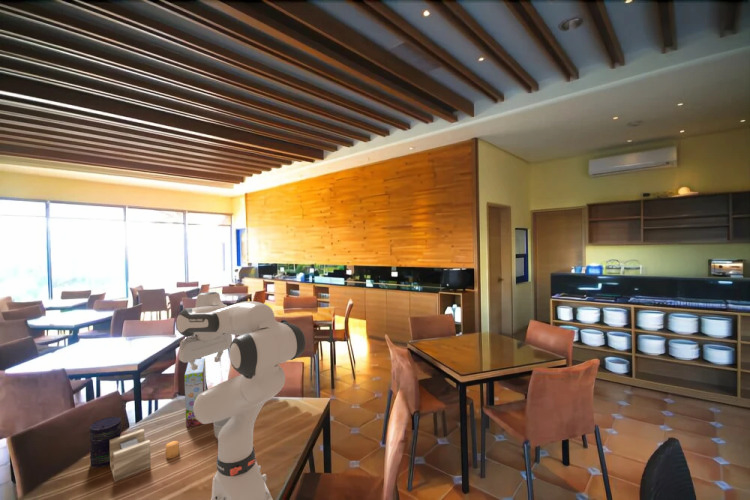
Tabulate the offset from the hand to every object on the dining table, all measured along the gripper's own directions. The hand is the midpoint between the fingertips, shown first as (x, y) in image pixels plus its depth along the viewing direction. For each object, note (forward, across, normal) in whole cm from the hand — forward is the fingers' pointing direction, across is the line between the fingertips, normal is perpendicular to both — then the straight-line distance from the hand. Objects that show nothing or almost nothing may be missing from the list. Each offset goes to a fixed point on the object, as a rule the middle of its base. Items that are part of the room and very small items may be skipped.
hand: (206, 365), depth 130 cm
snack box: (+43, +16, +33) cm, 56 cm away
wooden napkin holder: (+40, -19, +18) cm, 48 cm away
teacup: (+39, +14, +4) cm, 42 cm away
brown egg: (+39, -7, +11) cm, 41 cm away
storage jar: (+41, -22, +31) cm, 56 cm away
